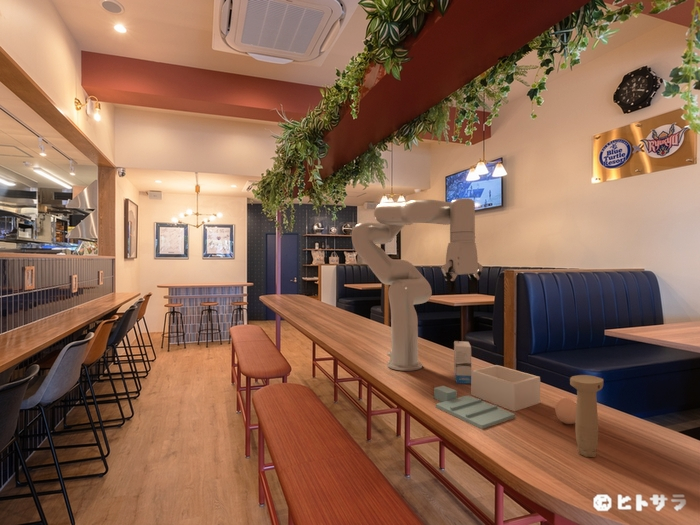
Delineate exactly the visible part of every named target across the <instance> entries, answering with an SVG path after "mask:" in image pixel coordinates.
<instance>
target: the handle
mask: <svg viewBox="0 0 700 525" xmlns="http://www.w3.org/2000/svg"><path fill="white" fill-rule="evenodd" d="M569 384H570V386H571V387H573V388H574V389H576V404H577V406H576V420H575V423H574V425H575V426H574V427H575V440H576V444H577V453H578V454H579V455H581V456H583V457H585V458H595V457H596V455H597V448H598V443H599V442H598V441H599V416H598V399H597V392H600V391H601V390H602V389H603V387H604V378H602V377H598V376H594V375H589V374H579V375H572V376H570V377H569Z"/></svg>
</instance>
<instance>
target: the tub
mask: <svg viewBox="0 0 700 525" xmlns="http://www.w3.org/2000/svg"><path fill="white" fill-rule="evenodd" d="M470 385H471V386H470V396H472V397H474V398H477V399H482V401H486V402H487V403H488V402H489V403H490V404H492V405H493V404H494V405H497V406H498V407H500V408H505V409H507V410H510V411H512V412H517V411H520V410H523V409H526V408H528V407H533V406H535V405H539V404H541V376H538V375H534V374H530V373H527V372H525V371H524V372H523V371H520V370H516V369H513V368H509V367H505V366H502V365H498V364H495V365H490V366H486V367H481V368H477V369H473V370H472V371H471V384H470Z"/></svg>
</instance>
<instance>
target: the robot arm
mask: <svg viewBox="0 0 700 525" xmlns="http://www.w3.org/2000/svg"><path fill="white" fill-rule="evenodd" d="M475 209H476V203H475V201H474V199H472V198H455V199H453V200H451V201H443V200H437V199H414V200H413V199H411V200H404V201H386V202H385V201H383V202H381V203H379V204H378V205H376V207H375V208H374V212H373V217H374V218H375V220H376V221H377V222H366V221H365V222H360V223H358V224H356V225H355V226H354V227H353V229H352V231H351V242H352V246H353V249H354V250H355V253H356V254H357V255H358V256H359V257H360V258H361V259H362V260H363V261H364V263H365V264H366V265H367V266H368V267H369V269H370V270H371V271H372V273H373V274H374V275H375V277H376V278H377V279H378V280H379V281H380V282H381V283H382V284H383V285H386V286H387V285H389V287H388V290H387V292H388V293H387V294H388V295H387V296H388V300H389V306H390V307H389V308H390V322H391V324H390V325H391V327H390V332H391V333H390V335H391V339H390V340H391V350H390V351H389V352H387V354H386V355H387V356H388V357H390V358H389V360H388V362H386V364H387V365H386V366H387V368H389V369H391V370H396V371H404V372H409V371H411V372H413V371H417V370H420V369H422V368H423V362H421V361H420V360H419V341H418V339H419V326H418V325H419V324H418V322H419V321H418V315H417V314H418V313H417V311H416V309H415V305H420V304H424V303H427V302H428V301H429V300H430V299H431V298H432V295H433V294H432V293H433V292H432V286H431V284H430V283H429V281H428V280H427V279H426V278H425V277H424V275H422V273H421V272H420V271H419V270H418V268H416V267H415V265H414V264H413V263H411V262H410V261H408V260H404V259H393V258H391V257H390V256H389V255H388V254H387V253H386V252H385V250H384V249H383V248H381V247H380V246H378V245H385V244H388V243H390V242H391V241H393V239H394V238H395V237H396V236H397V234H399V233H400V231H401V230H402V229H403V228H404V227H405V226H411V225H413V224H434V225H445V226H446V225H447V226H448V225H449V242H448V243H447V247H446V252H445V253H446V254H445V264H443V265H442V266H441V267H440V269H441V272H442V275H443V277H444V279H445V281H446V293H447V294H450V295H456V294H457V281H456V278H457V277H458V275H459V276H460V275H468V277H469V279H468V292H469V293H479V280H480V276H481V275H482V271H483V265H482V264H480V263H479V262H478V261H479V260H478V258H479V257H478V250H477V243H476V210H475Z"/></svg>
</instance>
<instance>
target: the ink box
mask: <svg viewBox="0 0 700 525" xmlns="http://www.w3.org/2000/svg"><path fill="white" fill-rule="evenodd" d="M453 355H454V356H453V357H454V358H453V360H454V361H453V362H454V364H453V365H454V369H453V371H454V379H455V381H456V384H465V385H471V371H472V369H473V368H472V346H471V344H470V342H469V341H462V340H461V341H459V340H454V342H453Z"/></svg>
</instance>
